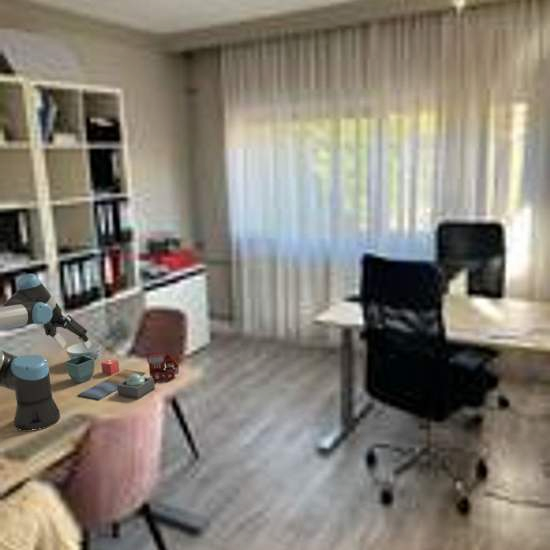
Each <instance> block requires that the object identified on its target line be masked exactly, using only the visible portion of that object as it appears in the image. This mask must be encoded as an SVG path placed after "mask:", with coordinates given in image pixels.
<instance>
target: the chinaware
mask: <svg viewBox="0 0 550 550" xmlns="http://www.w3.org/2000/svg"><path fill="white" fill-rule="evenodd" d="M90 342H91V343H92V344H91V346H90V347H89V348H88V349H86V347H85V346H84V345H83V343H82V342H79V343H75V344H73V345H70V346H69V347H67V348H66V353H67V355H68V357H69V358H70V359H69V360H71V359H73V358H76V357H79V356H86V357H89V358H93V359H94V362H95V361H96V360H97V359H98V358H99V356H100V354H101V350H102V344H101V343H99V342H95V341H90Z"/></svg>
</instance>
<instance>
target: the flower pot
mask: <svg viewBox="0 0 550 550" xmlns="http://www.w3.org/2000/svg"><path fill="white" fill-rule="evenodd" d="M64 365H65V369H66V372H67V374H68V376H69V377H70V379H71V380H72V381H73V382H77V383H79V384H81V383H84V382H87V381H89V380H91V379H92V377H93V375H94V372H95V361H94V359H93V358H89V357H86V356H79V357H76V358H73V359H69V360H66V361H64Z"/></svg>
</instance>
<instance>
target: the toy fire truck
mask: <svg viewBox="0 0 550 550" xmlns="http://www.w3.org/2000/svg"><path fill="white" fill-rule="evenodd" d="M146 358H147V359H146V360H147V364H148V369H149V377H150V378H153V379H154V383H155V382H156V383H158V382H157V381H159V382H160V381H162V379H163V376H164V378H165V380H167V381H172V380H173V381H174V379H175V376H176V375H178V374H179V373H180V368H179V367H180V366H179V364H178V362H177V361H176V359H175V357H173V356H172V355H171V354H170V353H166V354H156V355H147V357H146Z"/></svg>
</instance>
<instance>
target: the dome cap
mask: <svg viewBox="0 0 550 550" xmlns="http://www.w3.org/2000/svg"><path fill="white" fill-rule="evenodd" d="M144 377H145V376H144V375H143V376H140V375H138V374H133V375H131V376H130V377H129V378H128V379H126V384H127V385H129V386H135V387H138V386H139V385H141V384H143V383H145V379H144Z"/></svg>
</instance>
